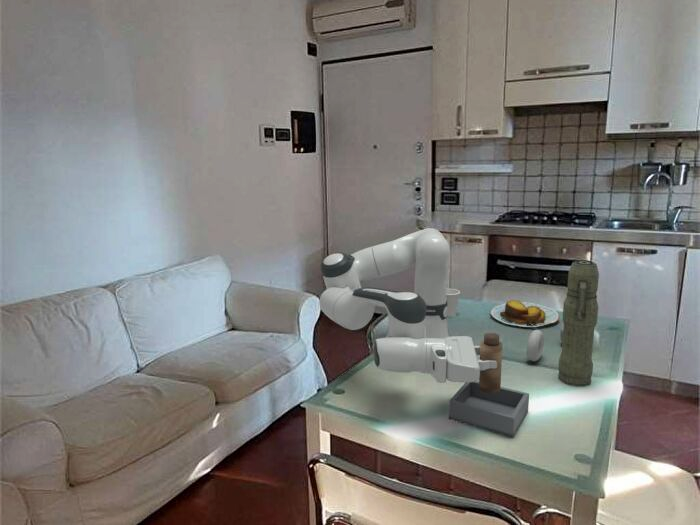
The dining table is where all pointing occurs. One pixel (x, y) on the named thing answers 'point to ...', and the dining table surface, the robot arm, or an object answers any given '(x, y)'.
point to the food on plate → (524, 313)
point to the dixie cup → (452, 301)
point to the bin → (489, 408)
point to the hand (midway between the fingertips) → (494, 358)
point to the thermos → (579, 324)
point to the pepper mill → (491, 376)
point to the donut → (535, 345)
